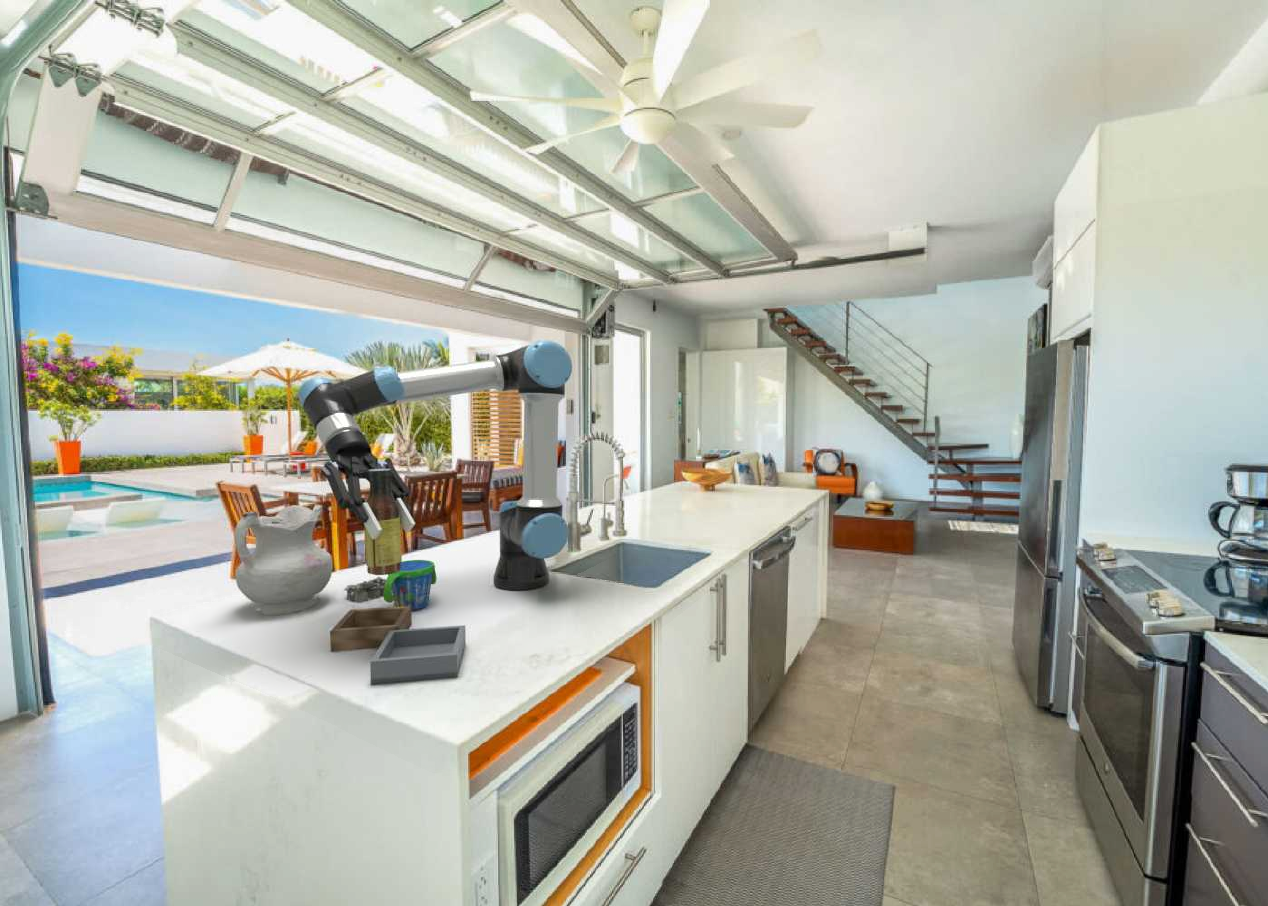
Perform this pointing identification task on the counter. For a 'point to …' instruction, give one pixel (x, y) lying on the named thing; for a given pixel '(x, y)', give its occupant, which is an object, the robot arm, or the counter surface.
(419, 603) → the snack cup
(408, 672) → the tray
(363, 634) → the square brown frame
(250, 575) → the ceramic pitcher
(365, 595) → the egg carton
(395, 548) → the sauce bottle
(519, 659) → the counter surface
